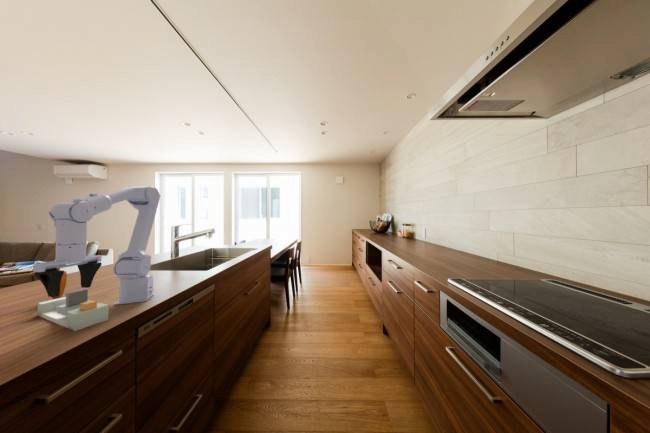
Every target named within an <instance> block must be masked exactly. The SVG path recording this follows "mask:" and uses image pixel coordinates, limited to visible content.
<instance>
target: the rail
mask: <svg viewBox="0 0 650 433" xmlns="http://www.w3.org/2000/svg"><path fill="white" fill-rule="evenodd" d="M64 304H66V296H63V297H62V296H61V297H60V298H58V299H53V298H52V299H49V300H45V301H40V302H37V316H38V317H39V318H42V319H44V320H47V321H49V322H53V323H54V324H57V325H60V326H62V327H64V328H67V329H68V330H69V329H70V330H71V331H74V332H76V331H79V330H82V329H85V328H88V327H91V326H94V325H97V324H100V323H102V322H106V321H109V310H110V309H109V308H110V307H109V304H107V303H103V302H97V308H93V309H90V310H86V311H81V310H80V308H78V309H75V310H71V311H67V316H65V315H62V314H59V313H58V306H60V305H64Z"/></svg>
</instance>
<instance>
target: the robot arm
mask: <svg viewBox="0 0 650 433" xmlns="http://www.w3.org/2000/svg"><path fill="white" fill-rule="evenodd" d="M88 195H89V196H86V197H81V198H78V197H77V198H73V199H72V201H71V202H58V203H56V204H55V205H54V206H53V207H52V208H51V210H50V211H48V216H49V218H50V219H51V220H52V221H53V227H55V259H54V260H51V261H46V262H45V261H44V262H42V263H35V264H33V265H32V272H33V273H34V277H36V278H37V279H38V281H40V282H41V284H42V285H43V287H44V290H45V291H46V293H47V297H48V298H52V297H56V296H59V293H60V283H61V279H62V276H63V273H64V271H65V270H64V271H58V270H57V269H58V268H60V269H62V268H68V267H69V268H70V267H75V266H77V268H78V271H79V274H80V275H79V276H80V286H81V289H87V288H91V286H92V283H93V280H94V278H95V276H96V274H97V272H98V270H99V269H100V268H101V267H102V255H99V254H96V255H95V254H94V255H87V235H88V234H87V233H88V232H87V229H88V228H87V226H88V223H87V222H90V221H91V220H92V218H93V217H94V216H96V215H98V214H100V213H103V212H106V211H109V210H110V209H111V208H112V206H113V205H115V204H117V203H120V202H124V201H127V202H128V204H130V205H131V206H132V207H133V208H134V209H135V210H137V211H138V214H137V217H136V220H135V223H134V228H133V230H132V234H131V236H130V240H129V242H128V246H127V249H126V250H125V251H124V252H122V253H120V254H119V255H118V259H117V260H116V262H114V264H113V267H112V271H113V274H114V275H115V276H117V279H118V280H119V288H118V289H119V291H118V292H119V295H118V296H119V300H117V301H115V302H114V303H113V305H114V306H116V305H118V306H119V305H124V304H133V303H141V302H147V301H148V300H149V299H150V298H151V297H152V296H154V278H153V275H151V274H150V275H149V274H148V273H150V270H151V268H152V263H151V260H152V256H151V254H149V253H147V247H148V243H149V239H150V236H151V233H152V229H153V226H154V223H155V222H154V221H155V217H156V214H157V211H158V208H159V207H158V205H159V202H160V199H161V195H160V192H159V190H158V189H157V188H156V187H155V186H153V185H151V186H131V185H129V186H126V187H125V186H124V187H122V188H120V189H118V190H115V191H112V192H110V193H108V194H103V193H97V192H90V193H89V194H88Z"/></svg>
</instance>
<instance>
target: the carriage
mask: <svg viewBox="0 0 650 433" xmlns="http://www.w3.org/2000/svg"><path fill="white" fill-rule="evenodd" d="M88 293H89V292H88V289H87V288H81V289H77V290H71V291H66V292H65V297H66V304H64V305H60V306H58V313H59V314H62V315H65V316H67V311H71V310H75V309H78V308H80V303H83V302H87V301H91V300H90V299H88V298H89V296H88Z"/></svg>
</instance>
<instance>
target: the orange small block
mask: <svg viewBox="0 0 650 433" xmlns="http://www.w3.org/2000/svg"><path fill="white" fill-rule="evenodd" d="M97 303H98V302H97V300H92V299H91V300H90V301H87V302H83V303H80V310H81V311H86V310H90V309H93V308H97Z"/></svg>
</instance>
